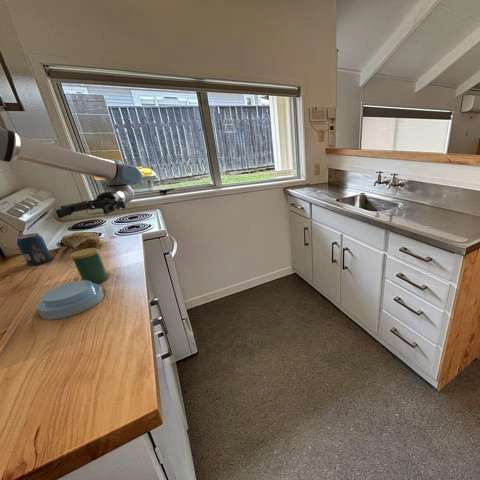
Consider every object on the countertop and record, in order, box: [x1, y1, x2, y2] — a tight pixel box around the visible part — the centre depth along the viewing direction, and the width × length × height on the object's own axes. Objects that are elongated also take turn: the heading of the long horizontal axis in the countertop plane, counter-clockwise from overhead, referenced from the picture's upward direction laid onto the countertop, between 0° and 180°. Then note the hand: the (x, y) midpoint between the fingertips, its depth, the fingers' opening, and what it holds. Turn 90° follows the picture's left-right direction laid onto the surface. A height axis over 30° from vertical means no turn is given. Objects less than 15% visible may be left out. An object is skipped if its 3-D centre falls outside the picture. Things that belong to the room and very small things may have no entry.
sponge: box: [60, 231, 102, 252], centre depth 118 cm, size 13×8×20 cm
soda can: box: [16, 232, 53, 266], centre depth 102 cm, size 7×7×12 cm
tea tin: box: [70, 248, 109, 285], centre depth 87 cm, size 7×7×11 cm
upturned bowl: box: [36, 279, 105, 321], centre depth 75 cm, size 14×14×5 cm
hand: (81, 212), depth 89 cm, fingers open, 13 cm apart
